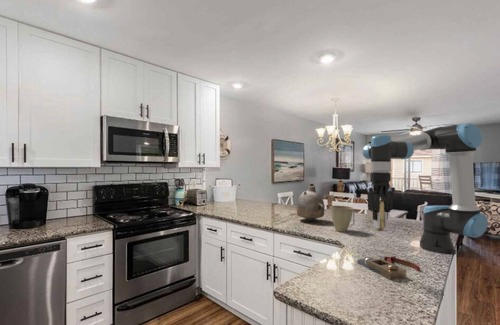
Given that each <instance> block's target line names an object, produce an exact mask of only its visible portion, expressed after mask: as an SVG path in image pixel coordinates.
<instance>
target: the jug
mask: <svg viewBox="0 0 500 325" xmlns="http://www.w3.org/2000/svg"><path fill="white" fill-rule="evenodd" d="M296 213H297V215H298V217H301V218H304V219H306V220H308V221H309V222H312V221H315V220H316V219H319V218H323V217H324V215H325V202H324V200H323V196H321V194H320V193H319V192H318V191H316V183H314V182H313V183H309V184H308V189H307V190H306V191H305V190H304V191H303V192H302V193H301V194H299V197H298V199H297V203H296Z"/></svg>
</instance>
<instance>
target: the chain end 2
mask: <svg viewBox="0 0 500 325" xmlns="http://www.w3.org/2000/svg"><path fill="white" fill-rule="evenodd" d="M380 263H381V264H383V265H378V264H380ZM366 264H367V265H369V266H371V267H373V268H375V269H377V270H379V271H380V274H379V275H380V276H382V277H384V278H385V279H388V280H389V281H391V280H399V279H405V278H407V269H405V268H403V267H401V266H399V265H396V264H394V263H393V264H392V263H390V262H387V261H385V260H384V259H383V258H382V257H381V258H380V257H379V258H373V259H371V260H366Z"/></svg>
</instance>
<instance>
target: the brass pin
mask: <svg viewBox="0 0 500 325" xmlns="http://www.w3.org/2000/svg"><path fill="white" fill-rule="evenodd" d="M378 212H379V213H380V229H378V228H375V230H376V231H378V232H384V231H385V228H384V202H382V201H381V200H380V202H379V210H378Z"/></svg>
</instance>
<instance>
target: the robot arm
mask: <svg viewBox="0 0 500 325" xmlns="http://www.w3.org/2000/svg"><path fill="white" fill-rule="evenodd" d="M370 141H371V142H370V143H369V144H366V145H365V146H363V148H362V155H363V157H364V159H367V160H370V171H371V172H370V181H371V184H370V186H369V187H367V186H366V187H365V190H366V194H367V197H366V198H367V209H368V211H370V212H371V213H372V220H373V228H375V229H376V228H378V229H380V213H379V212H378V210H379V202H380V201H382V202H384V229H387V228H388V219H389V213H390V212H391V211H392V210H393V205H394V204H393V203H394V193H395V190H396V189H395V187H393V186H391V185H390V182H391V180H392V179H391V178H392V177H391V171H392V169H391V168H392V165H391V164H392V160H393V159H394V160H395V159H396V160H397V159H398V160H406V159H410V158H411V157H412V156H413V155H414V152H415V151H417V150H419V151H427V150H445V154H446V155H448V156H449V166H450V182H451V196H452V197H451V198H452V204H451V205H425V206H424V207H423V213H422V215H423V219H422V220H423V232H422V235H421V238H420V241H419V247H420V248H421V249H423V250H426V251H429V252H434V253H435V252H436V253H440V254H452V253H455V245H454V243H453V240H452V238H451V233H452V234H456V235H461V236H463V237H470V238H475V239H476V238H480V237H481V236H483V234H484V233H486V230H487V228H488V217H487V216H486V215H485V214H483V213H481V209H480V207H479V206H477V205H476V190H475V189H476V188H475V178H474V177H475V176H474V175H475V174H474V161H473V158H474V157H473V155H474V154H475V153H476V152H477V148H479V147H480V146H481V145H482V142H483V135H482V132H481V130H480V128H479V127H478V126H477V125H476V124H474V123H458V124H452V125H445V126H437V127H434V128H430V129H427V130H423V131H420V132H417V133H415V135H411V136H407V137H406V136H405V137H400V138H396V139H392V137H391V135H388V134H386V135H385V134H380V135H379V134H377V135H373V136H372V137H371V140H370Z"/></svg>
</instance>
